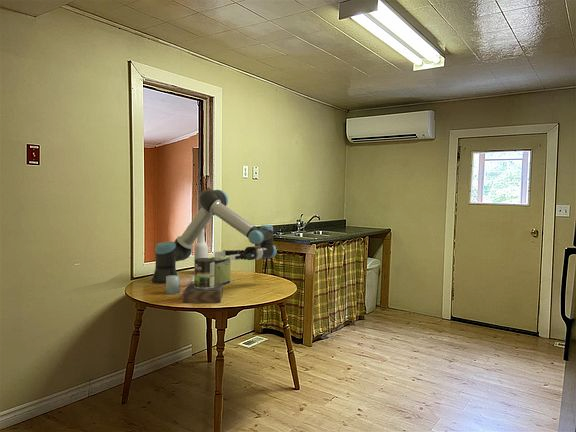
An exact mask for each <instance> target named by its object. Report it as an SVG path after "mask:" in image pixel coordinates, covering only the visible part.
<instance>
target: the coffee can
mask: <svg viewBox="0 0 576 432" xmlns="http://www.w3.org/2000/svg"><path fill="white" fill-rule="evenodd" d="M194 261H195V272H194V278H193V279H194V280H193V283H194V287H195V288H198V289H209V288H213V287H214V268H215V259H212V258H211V257H208V258H197V259H195V260H194Z"/></svg>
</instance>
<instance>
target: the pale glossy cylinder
mask: <svg viewBox="0 0 576 432" xmlns="http://www.w3.org/2000/svg"><path fill="white" fill-rule="evenodd" d="M180 281H181V280H180V275H179V274H178V275H169V276H166V283H165V294H166V295H178V294H180V286H181V285H180V283H181V282H180Z"/></svg>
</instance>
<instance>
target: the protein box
mask: <svg viewBox="0 0 576 432" xmlns="http://www.w3.org/2000/svg"><path fill="white" fill-rule="evenodd" d="M210 258H212V259H215V268H214V284H223V286H224V285H227V284H230V283H231V260H229V256H225V257H224V256H221V257H215V256H211V257H210Z"/></svg>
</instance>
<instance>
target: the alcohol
mask: <svg viewBox="0 0 576 432" xmlns="http://www.w3.org/2000/svg"><path fill="white" fill-rule="evenodd" d="M205 238H206V235H205V228H204V229H203V230H202V232H201V233H200V234H199V236H198V237H197V242H196V244H195V246H194V260H195V259H197V258H209V246H208V244H207V242H206V239H205ZM193 267H194V268H193V269H194V270H193V271H194V272H195V261H194V266H193Z"/></svg>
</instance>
